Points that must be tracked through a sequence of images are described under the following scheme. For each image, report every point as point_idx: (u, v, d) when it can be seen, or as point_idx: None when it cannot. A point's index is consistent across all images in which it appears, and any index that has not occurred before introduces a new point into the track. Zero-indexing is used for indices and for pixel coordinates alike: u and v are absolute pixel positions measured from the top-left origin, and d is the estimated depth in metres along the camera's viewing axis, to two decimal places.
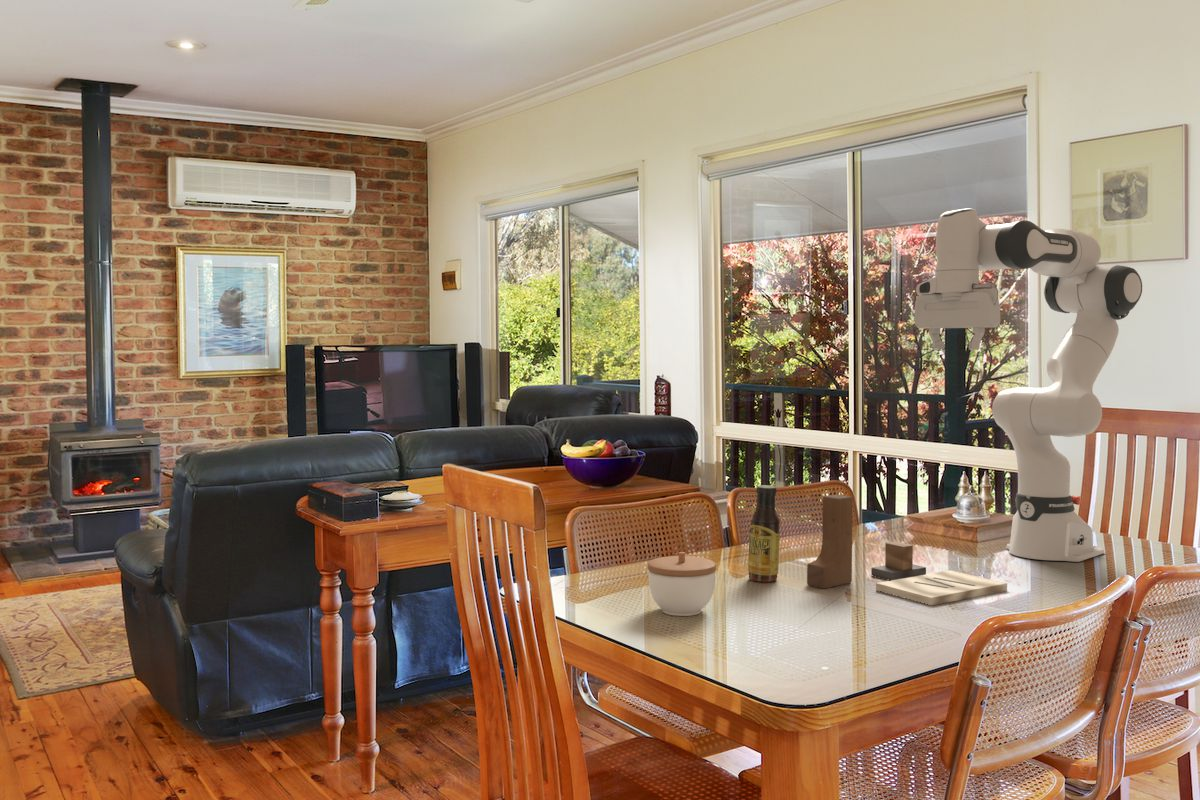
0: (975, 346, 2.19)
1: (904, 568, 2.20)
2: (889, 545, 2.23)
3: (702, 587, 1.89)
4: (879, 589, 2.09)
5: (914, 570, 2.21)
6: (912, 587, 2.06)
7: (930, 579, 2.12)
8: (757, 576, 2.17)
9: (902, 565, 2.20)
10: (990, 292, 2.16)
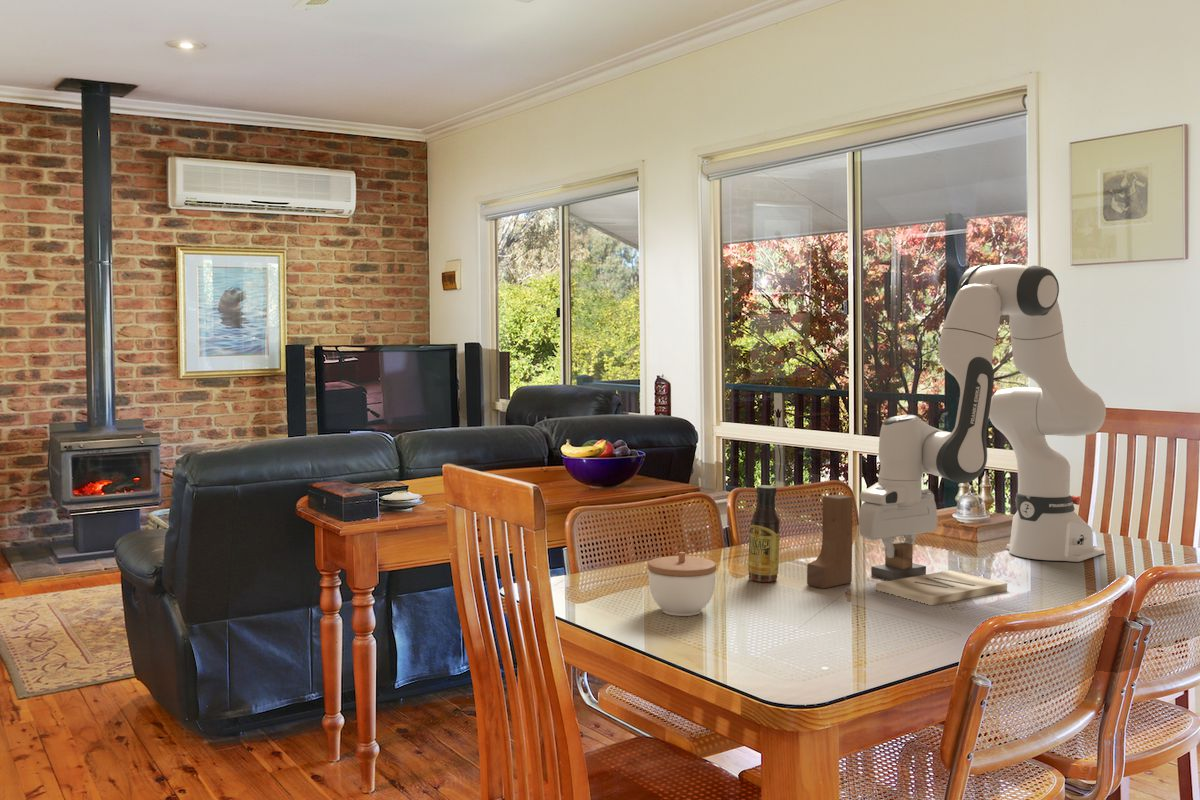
0: None
1: (904, 567, 2.20)
2: None
3: (702, 587, 1.89)
4: (879, 589, 2.09)
5: (914, 569, 2.21)
6: (912, 587, 2.06)
7: (930, 579, 2.12)
8: (757, 576, 2.17)
9: (902, 564, 2.20)
10: (930, 497, 2.26)
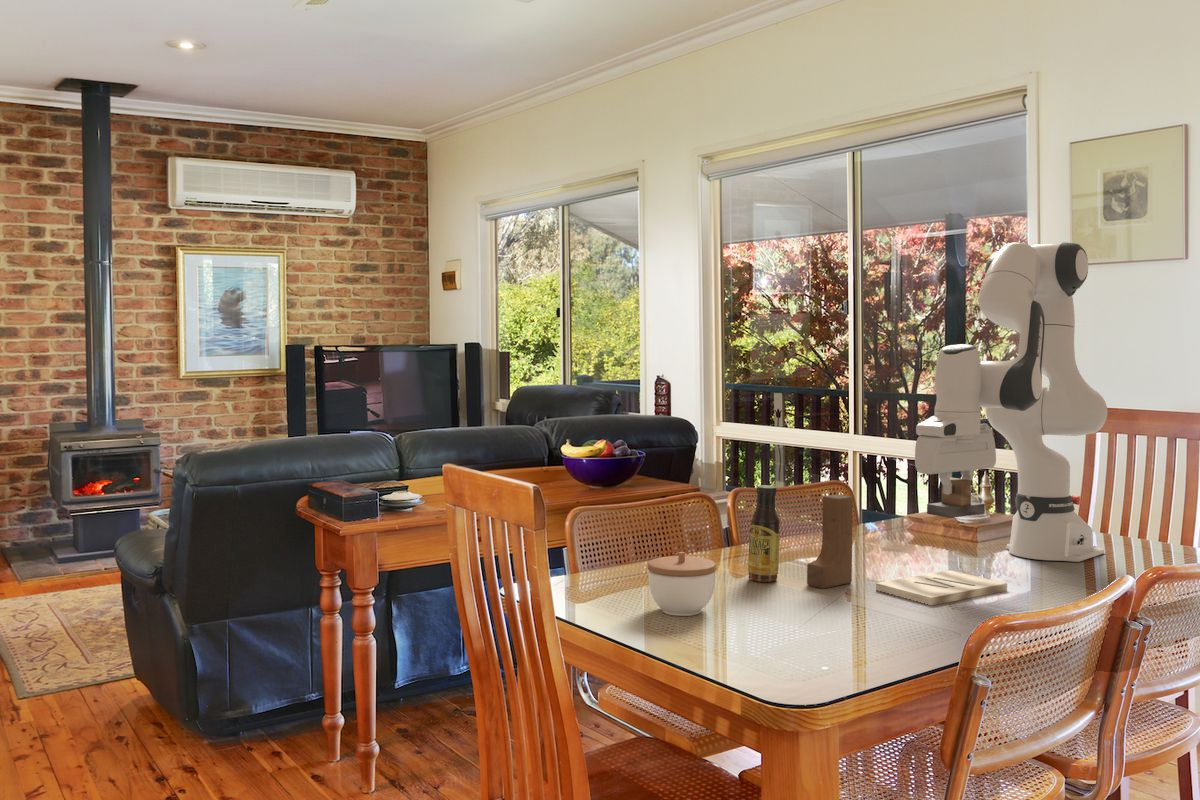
0: None
1: (962, 504, 2.09)
2: None
3: (702, 587, 1.89)
4: (879, 589, 2.09)
5: (973, 506, 2.10)
6: (912, 587, 2.06)
7: (930, 579, 2.12)
8: (757, 576, 2.17)
9: (960, 501, 2.09)
10: (988, 432, 2.15)
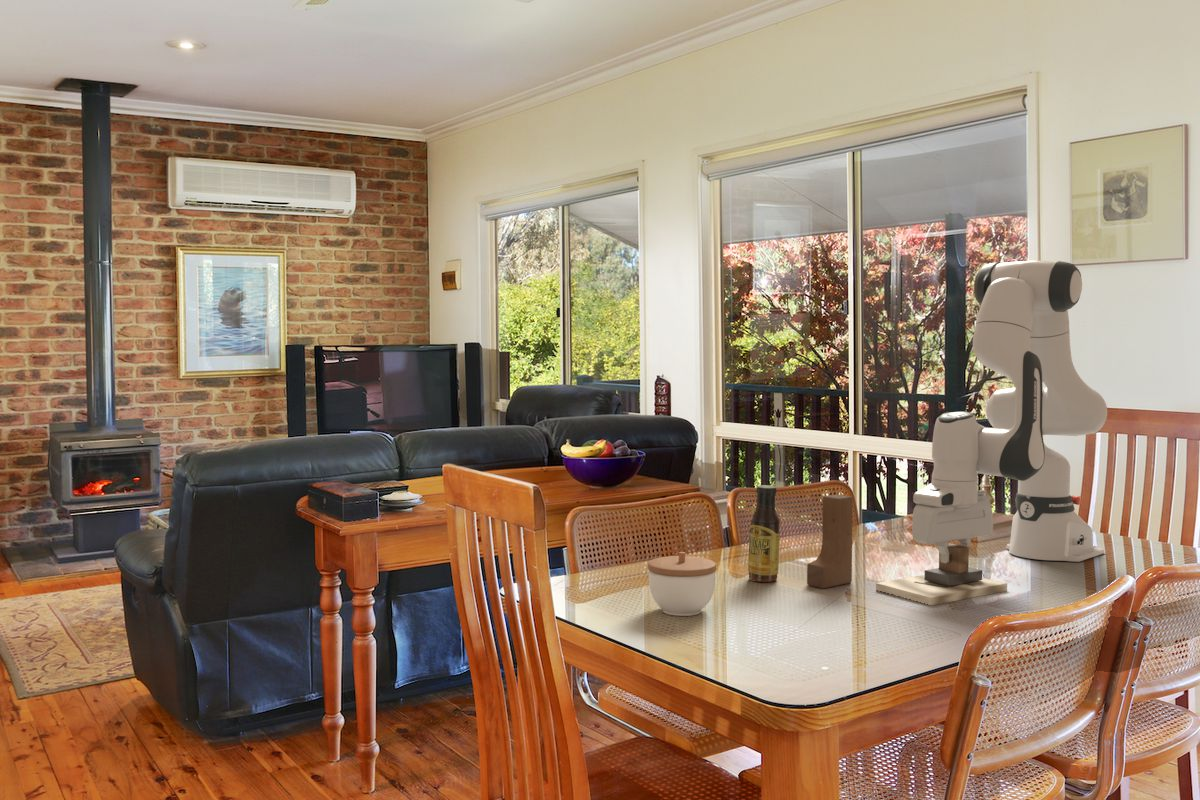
0: None
1: (960, 571, 2.08)
2: None
3: (702, 587, 1.89)
4: (879, 589, 2.09)
5: (970, 573, 2.09)
6: (912, 587, 2.06)
7: None
8: (757, 576, 2.17)
9: (958, 568, 2.08)
10: (985, 499, 2.14)
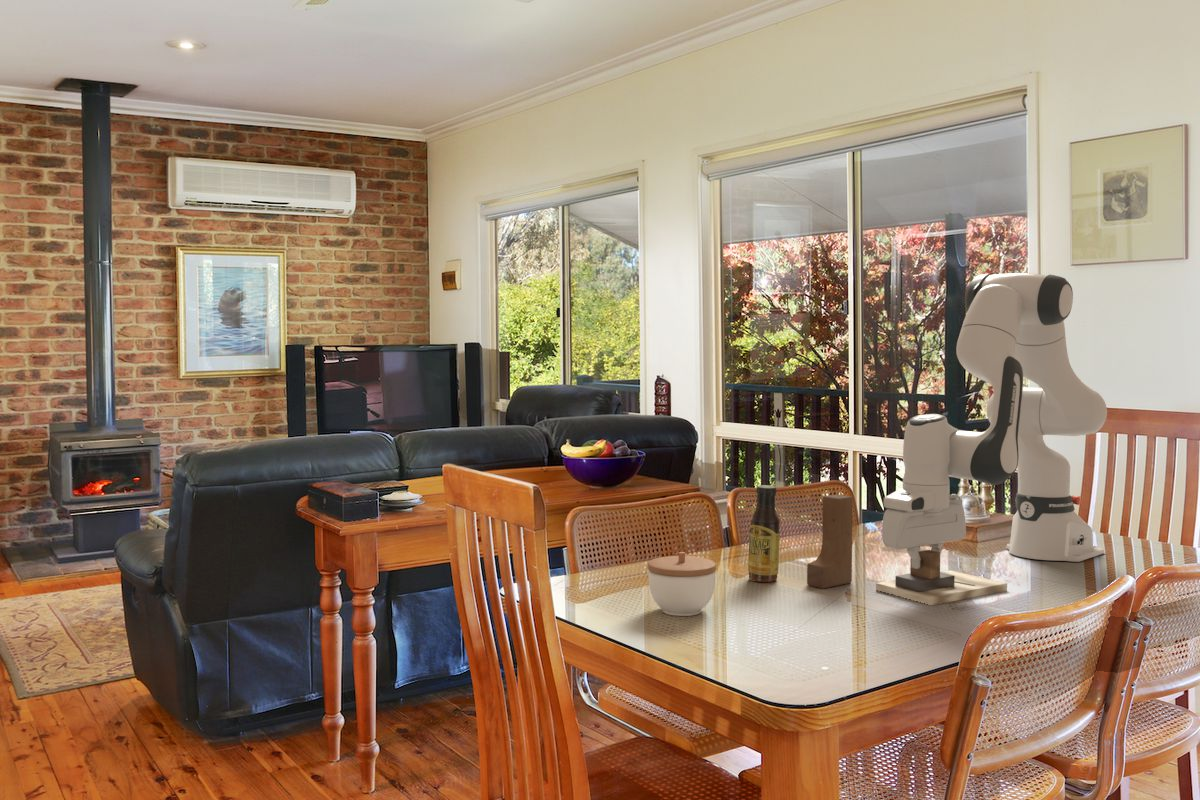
0: None
1: (931, 577, 2.04)
2: None
3: (702, 587, 1.89)
4: (879, 589, 2.09)
5: (942, 579, 2.05)
6: None
7: None
8: (757, 576, 2.17)
9: (929, 573, 2.04)
10: (958, 503, 2.10)
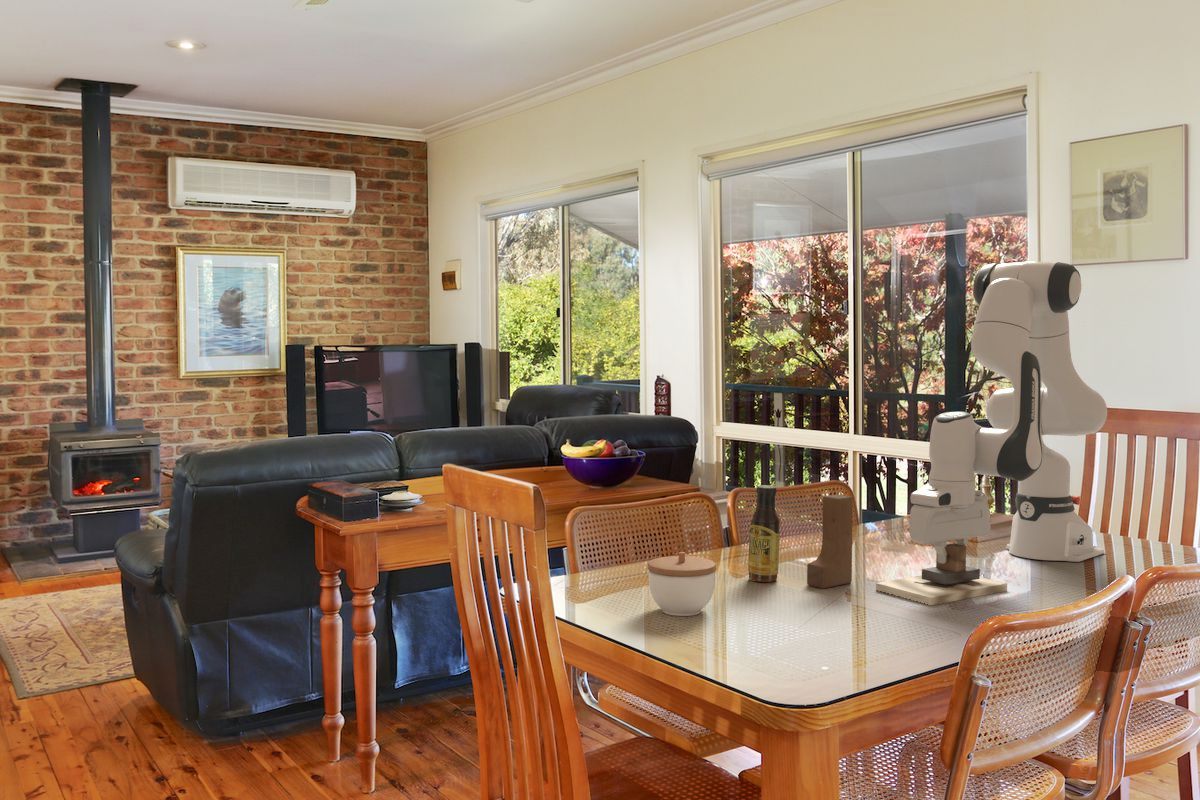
0: None
1: (957, 570, 2.07)
2: None
3: (702, 587, 1.89)
4: (879, 589, 2.09)
5: (967, 572, 2.08)
6: (912, 587, 2.06)
7: None
8: (757, 576, 2.17)
9: (955, 566, 2.07)
10: (983, 499, 2.14)
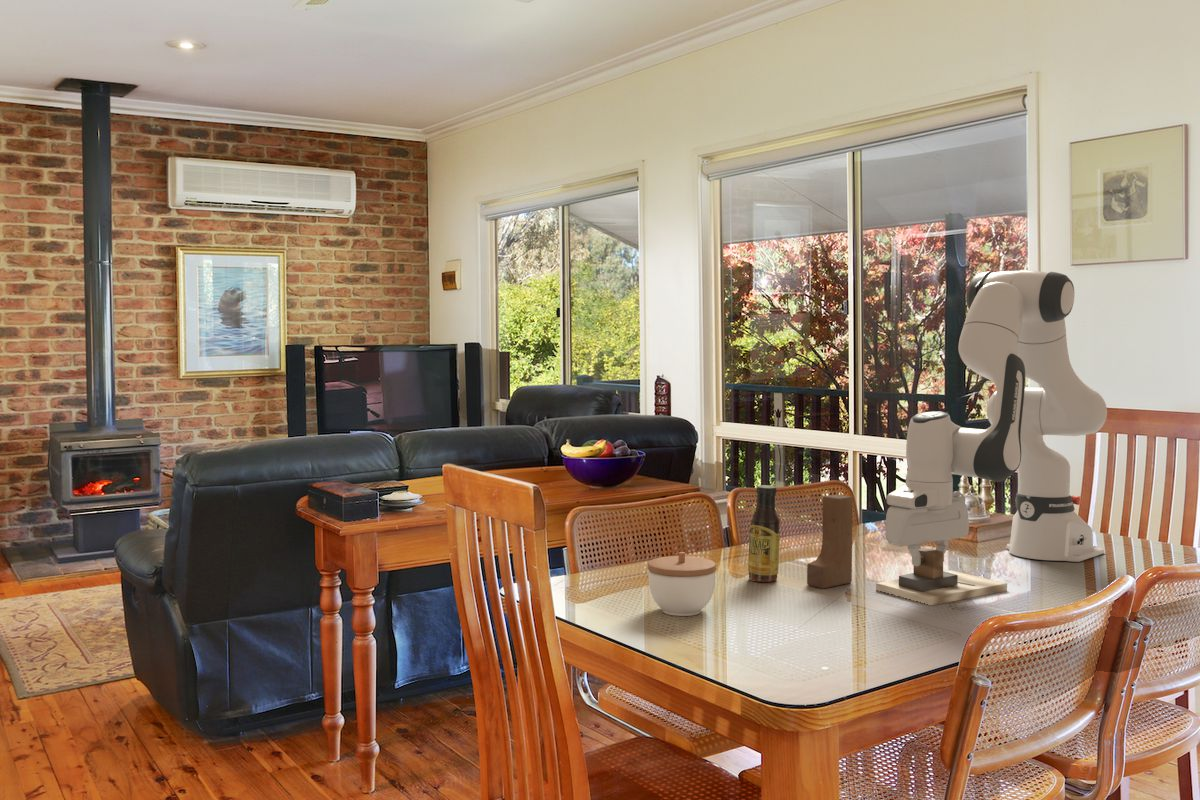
0: None
1: (934, 576, 2.04)
2: None
3: (702, 587, 1.89)
4: (879, 589, 2.09)
5: (945, 578, 2.05)
6: None
7: None
8: (757, 576, 2.17)
9: (932, 573, 2.04)
10: (961, 500, 2.10)
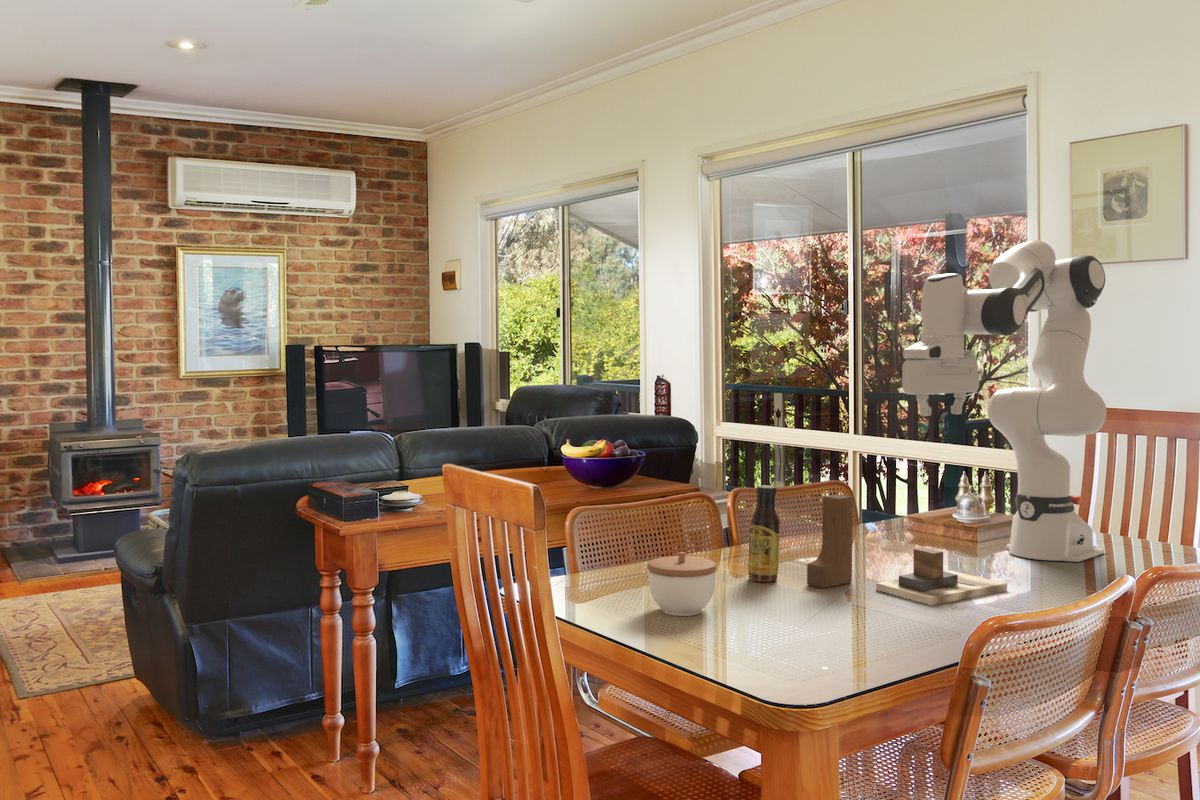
0: None
1: (934, 576, 2.04)
2: (918, 551, 2.07)
3: (702, 587, 1.89)
4: (879, 589, 2.09)
5: (945, 578, 2.05)
6: None
7: None
8: (757, 576, 2.17)
9: (932, 573, 2.04)
10: None
